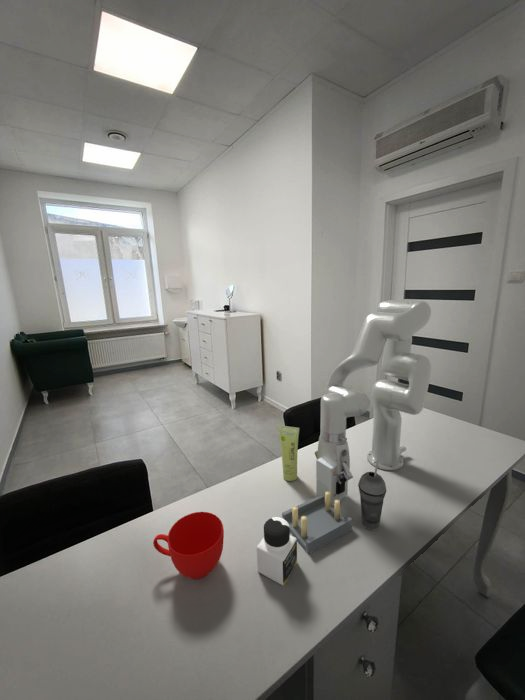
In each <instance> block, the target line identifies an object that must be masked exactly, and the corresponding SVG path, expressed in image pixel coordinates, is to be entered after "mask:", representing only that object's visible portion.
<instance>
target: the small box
mask: <svg viewBox="0 0 525 700" xmlns="http://www.w3.org/2000/svg"><path fill="white" fill-rule="evenodd" d="M315 461H316V462H315V463H316V464H315V468H316V471H315V473H316V476H315V477H316V489H315V490H316V494H315V495H316V497H317V496H320V495H322V494H324V495H325V492H330V493H331V502H330V506H331V507H334V505H335V500H340V501H341V500H343V499H344V498H346V497H347V496H348V494H349V492H348V491H349V490H348V487H349V480H348V481H346V482H345V491H344V492H343V493H340V494H338V495H337V494H336V482H338V481H337V478H336V474H335V467H334V466H332V465H331V464H329V463H328V462H326V461H325V460H324V459H322V458H319V459H317V458H316V460H315ZM340 478H343V477H342V474H340Z"/></svg>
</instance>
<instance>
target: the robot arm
mask: <svg viewBox="0 0 525 700" xmlns="http://www.w3.org/2000/svg"><path fill="white" fill-rule="evenodd" d="M431 309H432V308H431V306H430V305H429V304H428V302H425V300H407V299H404V300H403V299H389V300H388V299H387V300H383V301H381V302H379V303H378V305H377V308H376V312H372V313H369V314H368V315H366V317H365V319H364V320H363V324H362V326H361V328H360V332H359V335H358V337H357V339H356V343H355V345H354V347H353V350H352V353H351V354H350V355H349V356H348V357H346V358H345V359H344V360H343V361H341V362H340V363H339V364H338V365H337V366H336V367H335V368H334V369H333V370H332V371H331V374H330V376H329V378H328V381H327V384H326V386H325V389H324V395H322V396H321V398H320V428H319V429H320V435H319V436H318V445H317V450H316V451H314V455H315V457H316V460H317V459H319V458H322V459H324V460H325V461H326V462H328V463H329V464H331V465H332V466H334V467H335V474H336V478H337V481H338V482H336V494H337V495H338V494H340V493H343V492H344V491H345V482H346V481H348V482H349V481H350V480H351V479H353V478H354V476H353V474H352V472H351V471H350V467H351V462H350V461H351V459H350V457H351V456H350V448H349V444H348V443H349V442H348V441H347V440H348V438H347V436H346V434H347V418H350V417H358V416H361V415H363V414H366V412H368V410H369V408H370V405H371V401H370V398H369V396H368V395H367V394H366V393H364V392H362V391H360V390H357V389H353V388H350V387H347V386H344V384H345V382H346V380H347V378H348V377H349V376H351V375H352V374H353V373H355V372H357V371H360V370H363V369H366V368H372V367H374V366H377V365H378V363H379V362H380V360H381V357H382V360H381V372H382V373H383V375H386V376H388V377H391V378H395V379H400V380H403V381H406V382H408V384H406V383H402V382H400V381H395V380H391V379H379V380H377V381H376V382H375V383H374V384H373V385H372V388H371V399H372V405H373V420H372V421H373V423H372V424H373V425H372V443H371V451H369V452H368V453H367V462H369V463H370V464H371V465H372V466H374V467H375V468H376V463H377V461H379V463H378V469H380V470H385V471H396V470H399V469H401V468H402V467H403V466H404V459H403V457H401V454H402V453H404V452H406V451H407V447H406V446H404V445H403V446H401V437H402V416H401V415H402V414H401V413H404V414H409V415H413V416H416V415H419V414H420V413H421V412H422V411H423V410H424V407H425V404H426V399H427V396H428V395H427V394H428V390H429V386H430V385H429V383H430V379H431V375H432V363H431V360H430V359H429V357H427V355H426V356H425V355H423V354H419V353H413V352H411V350H412V343H413V336H414V335H415V334H417V333H418V332H419V331H420V330H421V329H423V328H424V327H425V326H426V325H427V324H428V322H429V321H430V320H431V319H430V318H431V314H432V310H431ZM340 474H342V477H343V478H340Z"/></svg>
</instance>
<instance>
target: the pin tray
mask: <svg viewBox="0 0 525 700" xmlns="http://www.w3.org/2000/svg"><path fill="white" fill-rule="evenodd" d="M330 502H331V493H330V492H325V495H324V494H322V495H320V496H317V495H316V496H315V497H314V498H312V499H309V500H307V501H305V502H302V503H300V504H298V505H296V506H293V507H292V508H289V509H287V510H285V511H283V512H282V513H281V518H283V519H284V520H286V521H287V522H288V524H289V527H290V535H291V536H293V537H295V538H296V539H297V543H299V544H300V546H301V547H302V548H303V549H304V550H305V553H307V554H308V555H310V554H311V553H313V552H314V551H317V550H319V549H320V548H321V547H323V546H325V545H327V544H329V543H330V542H332V541H334V540H336V539H337V538H340V537H341V536H343V535H345V534H347V533H348V532H350V531H351V530H353V519H352V518H351V517H350V516H349V517H347V518H344V516H342V515H341V500H335V504H334V505H333V506H330ZM333 507H334V508H333Z"/></svg>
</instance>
